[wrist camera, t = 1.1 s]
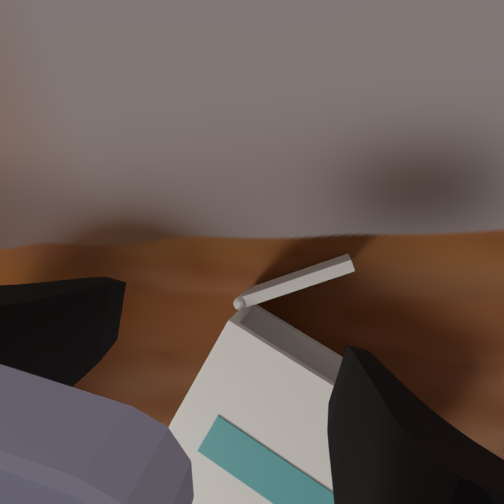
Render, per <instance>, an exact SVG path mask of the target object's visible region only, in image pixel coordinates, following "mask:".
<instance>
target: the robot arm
mask: <svg viewBox="0 0 504 504" xmlns="http://www.w3.org/2000/svg"><path fill="white" fill-rule="evenodd" d="M125 286H126V282H123V281H119V280H115V279H112V278H108V277H92V278H81V279H71V280H62V281H53V282H43V283H31V284H19V285H1V286H0V504H192V503H193V498H194V491H193V478H192V465H191V460H190V459H189V457H188V456H187V454H186V453H185V451H184V450H183V448H182V447H181V445H180V444H179V442H178V441H177V439H176V438H175V437H174V435H173V434H172V432H171V431H170V429H169V428H168V427H167V426H165V425H163V424H162V423H160V422H158V421H156V420H155V419H153V418H151V417H150V416H148V415H146V414H145V413H143V412H141V411H139V410H138V409H136V408H134V407H133V406H130V405H127V404H124V403H121V402H118V401H114V400H111V399H108V398H105V397H102V396H99V395H96V394H92V393H89V392H86V391H83V390H80V389H77V388H74V387H73V386H74V385H75V384H76V383H77V382H78V381H79V380H80V379H81V378H82V377H84V376H85V375H86V374H87V373H88V372H89V371H90V370H91V369H92V368H93V367H94V366H95V365H96V364H97V363H98V362H99V361H100V360H101V359H102V358H103V357H104V355H105V354H106V353H107V352H108V351H109V349H110V348H111V347H112V345H113V344H114V343H115V342H116V340H117V338H118V331H119V325H120V318H121V312H122V305H123V299H124V292H125ZM327 435H328V446H329V457H330V466H331V476H332V486H333V496H334V504H504V460H503V459H501V458H500V457H498V456H496V455H495V454H493V453H492V452H490V451H489V450H487V449H485V448H484V447H482V446H481V445H479V444H478V443H476V442H474V441H473V440H472V439H470V438H469V437H467V436H466V435H464V434H463V433H461V432H460V431H459V430H457V429H456V428H455V427H453V426H452V425H451V424H449V423H448V422H447V421H445V420H444V419H443V418H441V417H440V416H439V415H437V414H436V413H435V412H434V411H432V410H431V409H430V408H429V407H428V406H427V405H425V404H424V403H423V402H422V401H421V400H420V399H419V398H417V397H416V396H415V395H414V394H413V393H412V392H411V391H410V390H409V389H407V388H406V387H405V386H404V385H403V384H402V383H401V382H400V381H399V380H398V379H397V378H396V377H395V376H394V375H393V374H392V373H391V372H390V371H389V370H388V369H387V368H386V367H385V366H384V365H383V364H382V363H381V362H380V361H379V360H378V359H377V358H376V357H375V356H374V355H372V354H371V353H370V352H368V351H367V350H363V349H360V348H356V347H353V346H349V345H347V347H346V350H345V353H344V356H343V359H342V362H341V365H340V368H339V372H338V375H337V378H336V381H335V384H334V387H333V390H332V393H331V396H330V400H329V403H328V424H327Z"/></svg>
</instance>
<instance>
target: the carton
mask: <svg viewBox="0 0 504 504" xmlns="http://www.w3.org/2000/svg"><path fill="white" fill-rule="evenodd" d="M342 359H343V357H342V356H340V355H339V354H337V353H335V352H334V351H332V350H331V349H329V348H327V347H326V346H324V345H322V344H321V343H319V342H317V341H316V340H314V339H313V338H311V337H309V336H308V335H306V334H304V333H303V332H301V331H299V330H298V329H296V328H295V327H293V326H291V325H290V324H288V323H286V322H285V321H283V320H281V319H280V318H278V317H277V316H275V315H273V314H272V313H270V312H268V311H267V310H265V309H263V308H262V307H260V306H259V305H257V304H255V305H252V306H249V307H246V308H244V309H243V310H239V311H238V312H237V313H236V314H235V315H234V316H232V317H231V318H230V319H229V320H228V322H227V324H226V325H225V327H224V329H223V331H222V333H221V334H220V336H219V338H218V340H217V342H216V343H215V345H214V347H213V349H212V350H211V352H210V354H209V356H208V358H207V359H206V361H205V363H204V365H203V366H202V368H201V370H200V372H199V374H198V375H197V377H196V379H195V381H194V383H193V384H192V386H191V388H190V390H189V391H188V393H187V395H186V397H185V399H184V400H183V402H182V404H181V406H180V407H179V409H178V411H177V413H176V415H175V416H174V418H173V420H172V422H171V424H170V425H169V427H168V428H169V429H170V431H171V432H172V434H173V435H174V437H175V438H176V439H177V441H178V442H179V444H180V445H181V447H182V448H183V450H184V451H185V453H186V454H187V456H188V457H189V459H190V460H191V465H192V478H193V491H194V498H193V503H192V504H334V496H333V486H332V476H331V466H330V457H329V446H328V435H327V424H328V403H329V400H330V396H331V393H332V390H333V387H334V384H335V381H336V378H337V375H338V372H339V368H340V365H341V362H342Z"/></svg>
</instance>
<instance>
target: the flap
mask: <svg viewBox="0 0 504 504" xmlns="http://www.w3.org/2000/svg"><path fill="white" fill-rule="evenodd" d="M354 271H355V269H354V267H353V264H352V261H351V259H350V256H349V254H345V255H342V256H339V257H336V258H333V259H330V260H328V261H325V262H322V263H319V264H316V265H313V266H310V267H307V268H304V269H302V270H299V271H296V272H293V273H290V274H287V275H284V276H281V277H278V278H276V279H273V280H270V281H267V282H264V283H261V284H258V285H253V286H251V287H250V288H249V289H247V290H246V291H245V292H243V293H242V294H241V295H240V296H238V297H237V298H236V299H235V300H234V307H235V308H236V309H237V310H243V309H244V308H246V307H249V306H252V305H255V304H258V303H261V302H264V301H267V300H270V299H273V298H276V297H279V296H282V295H285V294H288V293H291V292H294V291H297V290H300V289H303V288H306V287H309V286H312V285H315V284H318V283H321V282H324V281H327V280H330V279H333V278H336V277H339V276H342V275H345V274H348V273H351V272H354Z"/></svg>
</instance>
